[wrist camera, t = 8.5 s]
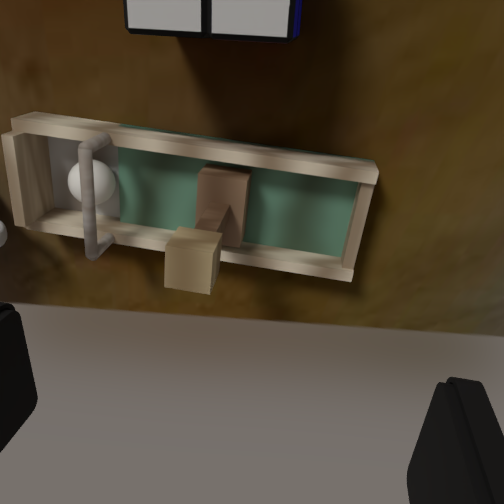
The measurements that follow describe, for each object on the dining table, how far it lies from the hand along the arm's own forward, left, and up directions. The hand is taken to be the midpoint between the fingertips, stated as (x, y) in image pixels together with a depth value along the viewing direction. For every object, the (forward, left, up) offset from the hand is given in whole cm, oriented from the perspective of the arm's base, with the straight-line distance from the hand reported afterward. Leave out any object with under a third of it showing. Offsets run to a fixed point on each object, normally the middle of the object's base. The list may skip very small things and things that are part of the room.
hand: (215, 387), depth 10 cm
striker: (+5, +7, -29) cm, 30 cm away
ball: (+17, +7, -28) cm, 34 cm away
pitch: (+8, +7, -31) cm, 32 cm away
